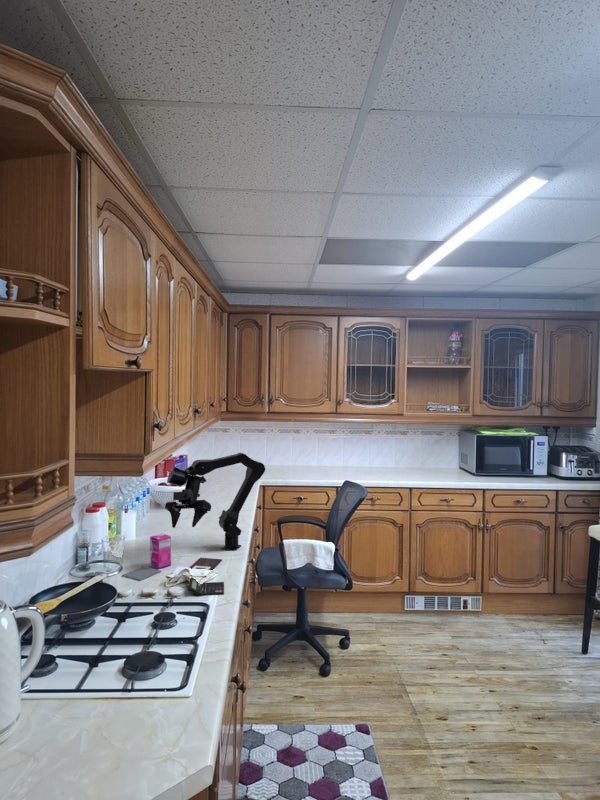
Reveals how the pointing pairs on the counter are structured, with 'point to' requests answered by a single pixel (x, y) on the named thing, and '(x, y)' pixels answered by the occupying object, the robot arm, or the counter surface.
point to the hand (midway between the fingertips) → (183, 527)
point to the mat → (141, 573)
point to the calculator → (206, 588)
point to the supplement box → (160, 551)
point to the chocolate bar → (206, 563)
